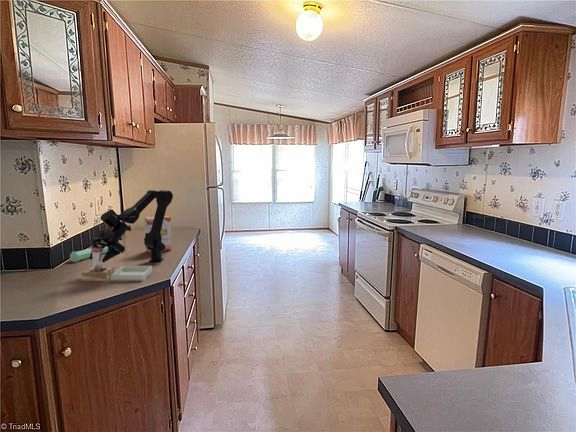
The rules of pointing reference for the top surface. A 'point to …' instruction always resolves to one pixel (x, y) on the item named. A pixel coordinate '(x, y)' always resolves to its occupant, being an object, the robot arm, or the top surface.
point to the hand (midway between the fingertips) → (96, 260)
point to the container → (83, 254)
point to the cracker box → (164, 231)
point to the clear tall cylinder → (97, 259)
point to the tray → (132, 273)
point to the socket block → (97, 274)
